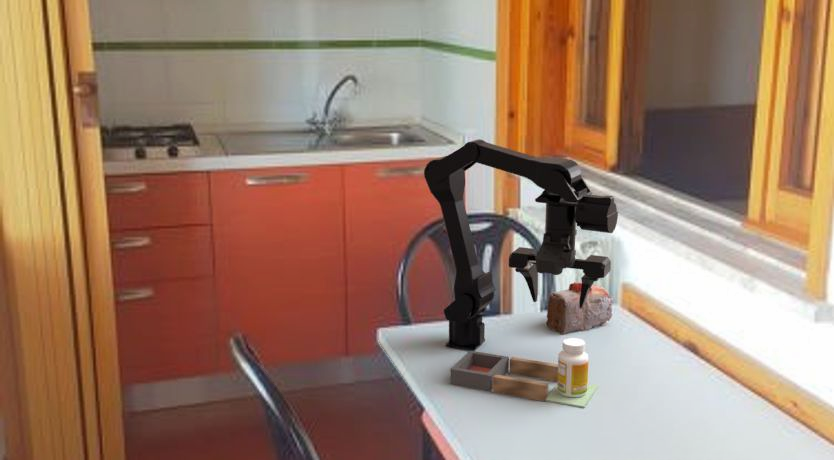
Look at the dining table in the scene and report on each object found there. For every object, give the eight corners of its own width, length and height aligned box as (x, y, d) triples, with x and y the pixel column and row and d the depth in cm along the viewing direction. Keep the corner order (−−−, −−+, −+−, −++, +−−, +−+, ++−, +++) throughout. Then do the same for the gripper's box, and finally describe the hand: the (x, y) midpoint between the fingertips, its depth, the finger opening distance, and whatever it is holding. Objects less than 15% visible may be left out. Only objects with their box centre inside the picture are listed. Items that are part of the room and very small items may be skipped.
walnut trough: (492, 391, 170) (493, 376, 169) (511, 371, 179) (511, 356, 178) (545, 401, 166) (546, 385, 165) (562, 379, 175) (562, 365, 174)
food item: (589, 315, 210) (591, 273, 207) (614, 325, 203) (617, 282, 201) (542, 327, 203) (544, 284, 200) (567, 338, 196) (568, 293, 194)
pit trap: (450, 383, 173) (450, 368, 173) (470, 364, 182) (470, 350, 181) (490, 391, 170) (490, 375, 169) (508, 371, 179) (509, 356, 178)
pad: (545, 401, 166) (545, 399, 166) (561, 380, 175) (561, 378, 175) (584, 407, 163) (584, 406, 163) (598, 386, 172) (598, 385, 172)
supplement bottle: (590, 388, 170) (592, 339, 168) (582, 400, 165) (584, 349, 163) (561, 383, 172) (563, 334, 170) (553, 395, 168) (555, 344, 165)
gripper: (499, 231, 173) (498, 311, 177) (598, 241, 165) (595, 324, 169) (518, 218, 183) (517, 294, 187) (613, 227, 175) (609, 306, 179)
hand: (557, 304), depth 180 cm, fingers open, 9 cm apart
